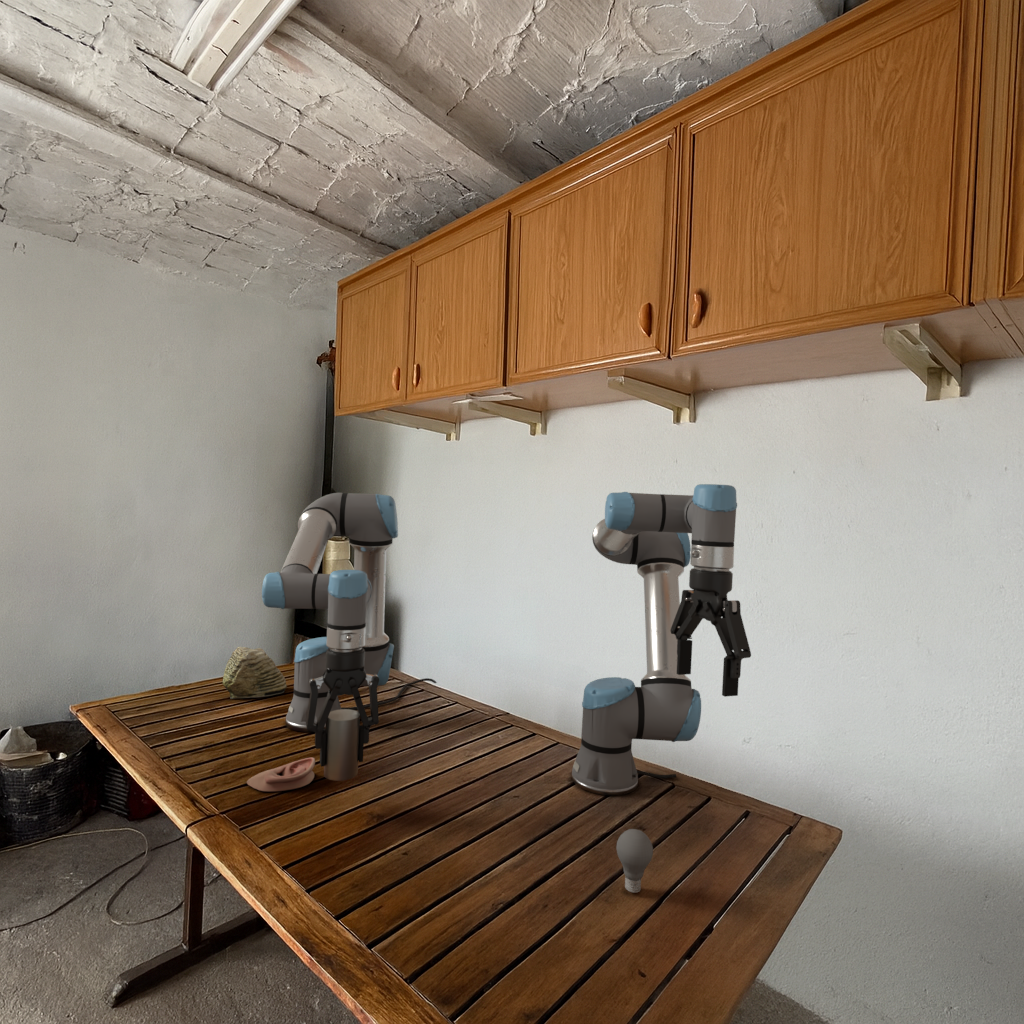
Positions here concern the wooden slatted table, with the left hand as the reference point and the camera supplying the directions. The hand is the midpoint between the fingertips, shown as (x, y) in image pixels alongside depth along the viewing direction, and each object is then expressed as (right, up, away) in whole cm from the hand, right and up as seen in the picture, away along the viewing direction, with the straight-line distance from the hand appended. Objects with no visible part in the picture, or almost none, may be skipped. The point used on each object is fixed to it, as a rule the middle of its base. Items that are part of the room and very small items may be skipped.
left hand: (341, 761), depth 127 cm
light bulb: (+55, -13, -22) cm, 60 cm away
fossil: (-46, -7, +71) cm, 85 cm away
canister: (0, -3, 0) cm, 2 cm away
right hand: (+70, +19, -11) cm, 73 cm away
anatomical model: (-17, -9, +12) cm, 23 cm away
